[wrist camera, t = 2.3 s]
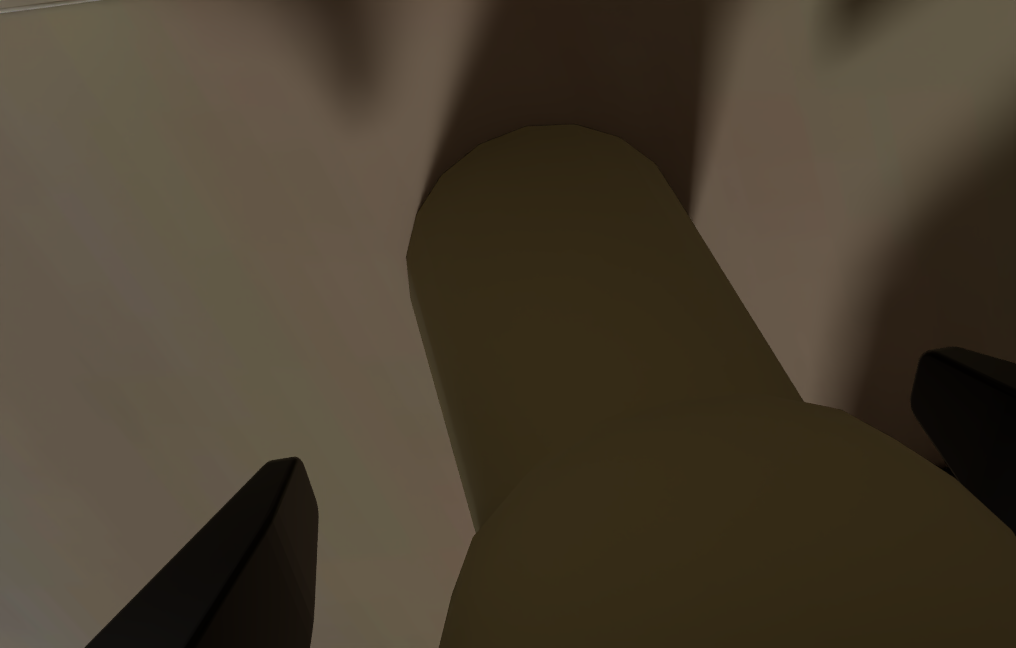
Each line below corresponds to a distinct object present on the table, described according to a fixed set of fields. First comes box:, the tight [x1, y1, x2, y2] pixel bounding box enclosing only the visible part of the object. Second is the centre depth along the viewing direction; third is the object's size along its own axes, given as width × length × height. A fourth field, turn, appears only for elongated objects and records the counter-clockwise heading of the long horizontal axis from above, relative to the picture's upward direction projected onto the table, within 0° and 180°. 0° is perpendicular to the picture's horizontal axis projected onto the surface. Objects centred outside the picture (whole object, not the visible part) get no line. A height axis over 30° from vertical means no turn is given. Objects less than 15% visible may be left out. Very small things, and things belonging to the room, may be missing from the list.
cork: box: [406, 124, 1016, 648], centre depth 9 cm, size 6×6×11 cm
